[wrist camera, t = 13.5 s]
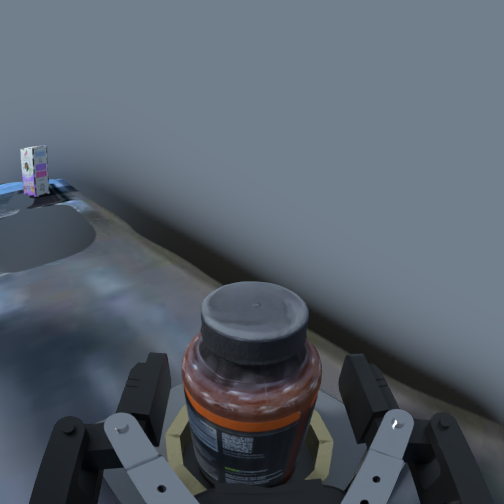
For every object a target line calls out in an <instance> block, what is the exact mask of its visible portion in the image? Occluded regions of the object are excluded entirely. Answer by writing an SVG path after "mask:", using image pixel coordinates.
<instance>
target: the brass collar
mask: <svg viewBox="0 0 504 504" xmlns="http://www.w3.org/2000/svg"><path fill="white" fill-rule="evenodd" d="M165 437H166V448H167V458H168V464H169V465H170V467H171V468H172V469H173V471H174V472H175V473H176V475H177V476H178V477H179V479H180V480H181V481H182V482H183V484H184V485H185V486H186V488H187V489H188V490H189V491H190V493H191V494H192V495H193V496H194V495H196V494H198V493H200V492H203V491H206V490H207V489H206V488H205V487H204V486H203V485H202V484H201V483H200V482H199V481H198V480H197V479H196V478H195V477H194V476H193V475H192V474H191V473H190V472H189V471H188V470H187V469H186V468H185V461H184V455H183V453H184V451H185V449H186V448H187V446H188V444H189V442H190V440H191V438H192V436H191V429H190V424H189V418H188V412H187V406H186V405H184V407H182V408H181V410H180V412H179V413H178V415H177V416H176V418H175V420H174V421H173V423H172V424H171V426H170V428H169V429H168V431H167V432H166V435H165ZM305 442H306V444H307V446H308V449H309V451H310V453H311V455H312V457H313V461H312V466H311V471H310V475H309V476H308V477H307V478H306V479H304V480H310V479H319V478H321V479H322V484H324V482H325V480H326V478H327V477H328V474H329V468H330V462H331V456H332V449H333V442H334V441H333V439H332V437H331V435H330V433H329V431H328V430H327V428H326V426H325V424H324V422H323V420H322V418H321V417H320V415H319V413H318V412H317V411H316V410H314V411H313V414H312V418H311V421H310V425H309V428H308V431H307V435H306V438H305Z"/></svg>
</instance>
